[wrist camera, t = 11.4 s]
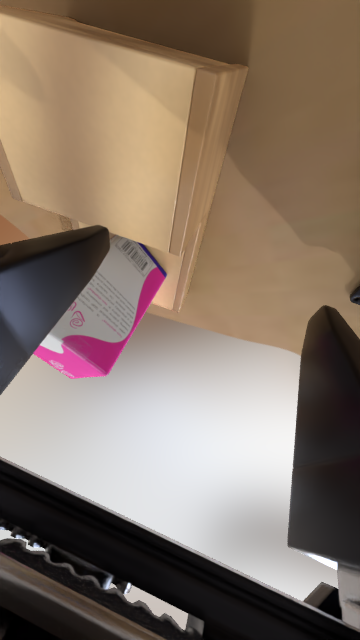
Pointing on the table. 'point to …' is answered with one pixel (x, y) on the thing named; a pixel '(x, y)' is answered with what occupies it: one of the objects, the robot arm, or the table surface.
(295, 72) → the table surface
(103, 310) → the supplement box
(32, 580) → the robot arm
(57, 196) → the shelf
